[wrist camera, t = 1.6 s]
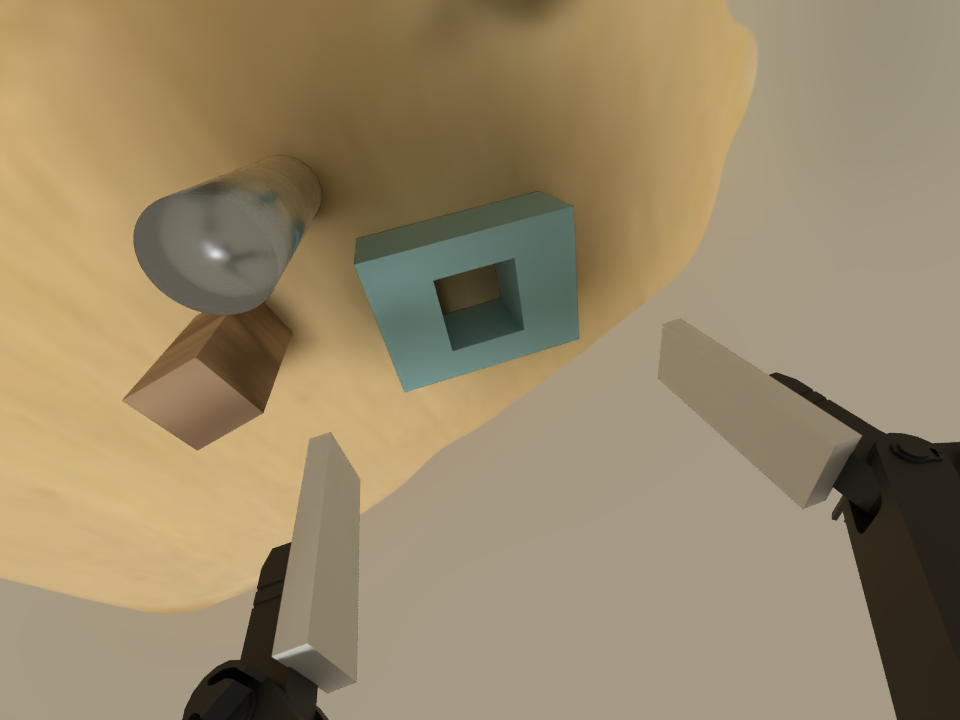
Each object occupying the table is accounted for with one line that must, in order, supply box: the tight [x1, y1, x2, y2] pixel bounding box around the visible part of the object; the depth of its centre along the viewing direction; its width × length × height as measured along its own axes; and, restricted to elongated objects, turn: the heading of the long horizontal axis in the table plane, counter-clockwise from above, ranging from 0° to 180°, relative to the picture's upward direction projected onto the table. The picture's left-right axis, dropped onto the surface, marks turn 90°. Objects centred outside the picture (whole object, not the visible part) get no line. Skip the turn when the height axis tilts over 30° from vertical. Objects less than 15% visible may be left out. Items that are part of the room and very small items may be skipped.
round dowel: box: [134, 156, 322, 315], centre depth 19 cm, size 4×4×15 cm
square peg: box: [122, 302, 292, 451], centre depth 24 cm, size 4×4×10 cm
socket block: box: [354, 191, 579, 393], centre depth 28 cm, size 10×14×6 cm
